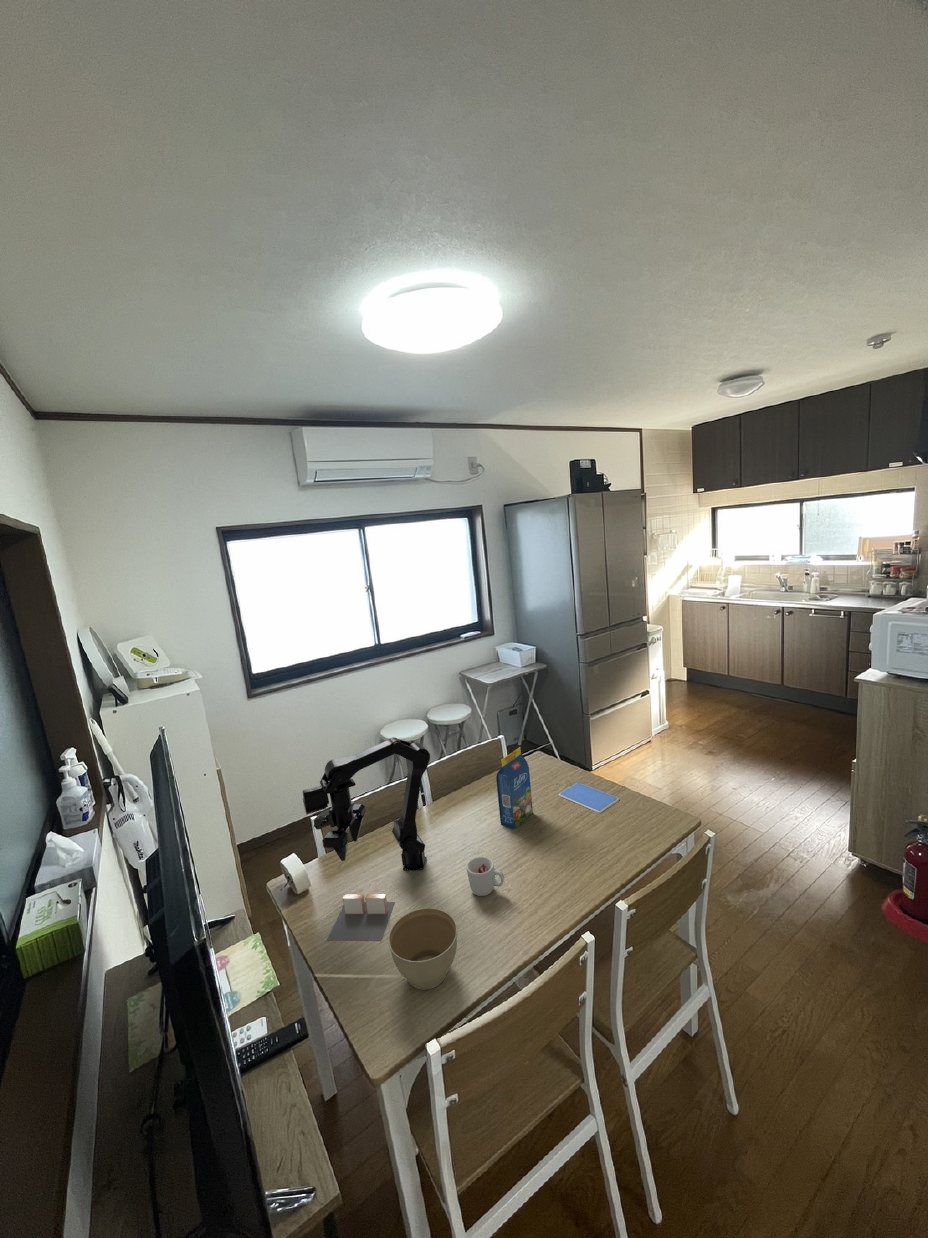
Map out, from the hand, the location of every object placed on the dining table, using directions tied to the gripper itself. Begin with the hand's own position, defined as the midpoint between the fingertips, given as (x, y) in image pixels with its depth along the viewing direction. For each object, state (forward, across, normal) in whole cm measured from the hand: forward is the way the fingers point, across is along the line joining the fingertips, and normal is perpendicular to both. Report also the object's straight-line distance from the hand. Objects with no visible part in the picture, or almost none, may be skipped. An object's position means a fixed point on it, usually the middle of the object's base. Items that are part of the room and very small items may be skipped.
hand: (349, 850), depth 150 cm
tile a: (+12, +10, +11) cm, 19 cm away
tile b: (+12, +11, +4) cm, 16 cm away
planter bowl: (+13, +28, +30) cm, 43 cm away
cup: (+13, 0, +40) cm, 42 cm away
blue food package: (+14, -37, +47) cm, 61 cm away
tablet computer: (+14, -52, +73) cm, 90 cm away
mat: (+12, +14, +7) cm, 20 cm away
